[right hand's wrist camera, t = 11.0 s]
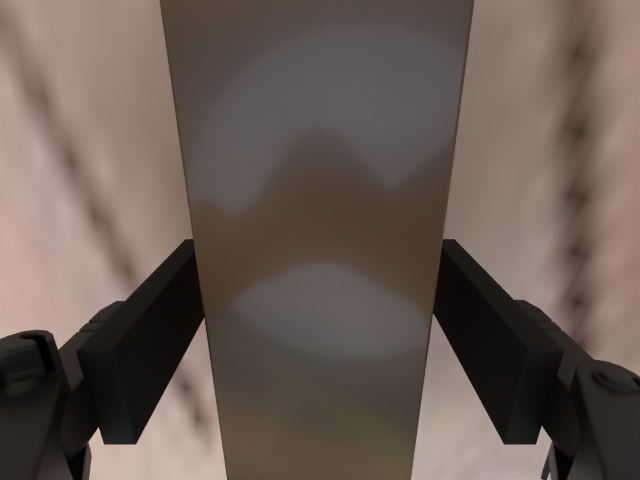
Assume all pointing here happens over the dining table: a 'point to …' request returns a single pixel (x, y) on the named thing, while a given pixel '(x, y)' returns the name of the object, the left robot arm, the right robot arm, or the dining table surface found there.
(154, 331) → the right robot arm
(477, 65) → the dining table surface
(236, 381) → the post
